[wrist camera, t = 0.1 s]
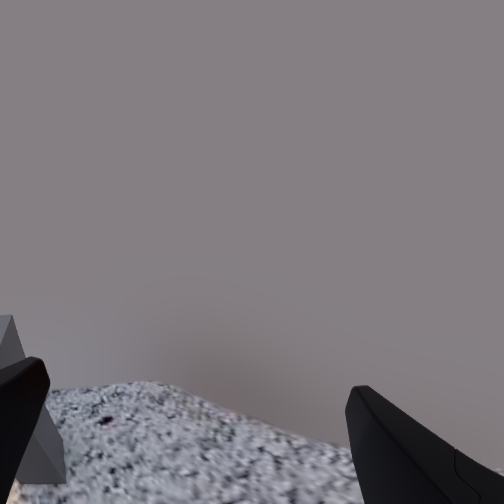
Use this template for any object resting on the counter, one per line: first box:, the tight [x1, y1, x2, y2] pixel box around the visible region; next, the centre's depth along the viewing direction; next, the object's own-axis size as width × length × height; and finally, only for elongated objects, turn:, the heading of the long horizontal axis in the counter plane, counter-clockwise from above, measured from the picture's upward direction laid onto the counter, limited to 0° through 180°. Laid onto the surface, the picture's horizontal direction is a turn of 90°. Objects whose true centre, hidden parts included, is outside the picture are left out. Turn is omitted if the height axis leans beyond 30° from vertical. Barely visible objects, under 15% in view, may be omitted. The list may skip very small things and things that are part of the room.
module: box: [0, 315, 66, 484], centre depth 15 cm, size 5×4×13 cm
